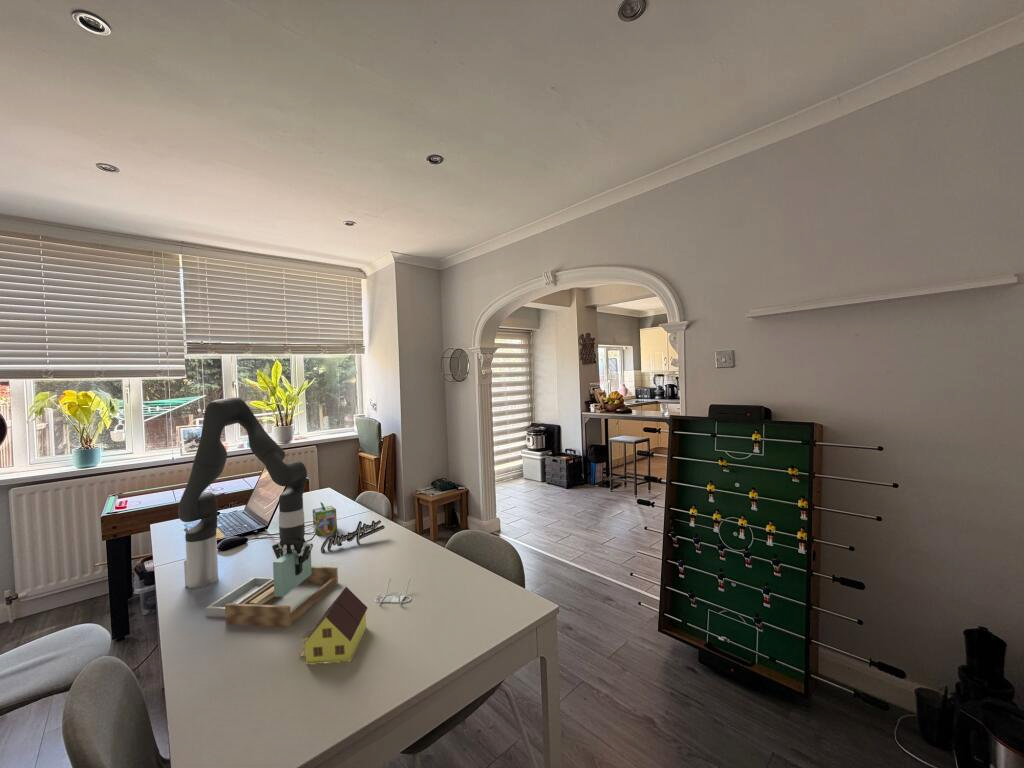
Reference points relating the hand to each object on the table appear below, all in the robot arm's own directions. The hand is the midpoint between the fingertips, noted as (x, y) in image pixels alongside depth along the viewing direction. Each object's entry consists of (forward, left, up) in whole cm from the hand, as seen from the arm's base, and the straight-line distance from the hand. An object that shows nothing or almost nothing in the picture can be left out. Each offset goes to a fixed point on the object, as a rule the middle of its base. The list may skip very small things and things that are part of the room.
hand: (293, 573), depth 140 cm
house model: (+27, -21, -10) cm, 35 cm away
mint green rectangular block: (0, 0, -4) cm, 4 cm away
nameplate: (-4, +48, -10) cm, 49 cm away
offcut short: (-9, -2, -8) cm, 12 cm away
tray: (-19, 0, -10) cm, 21 cm away
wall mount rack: (+33, +5, -10) cm, 35 cm away
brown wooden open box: (-3, 0, -10) cm, 10 cm away
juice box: (-28, +63, -10) cm, 69 cm away
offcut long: (-9, -1, -10) cm, 13 cm away
